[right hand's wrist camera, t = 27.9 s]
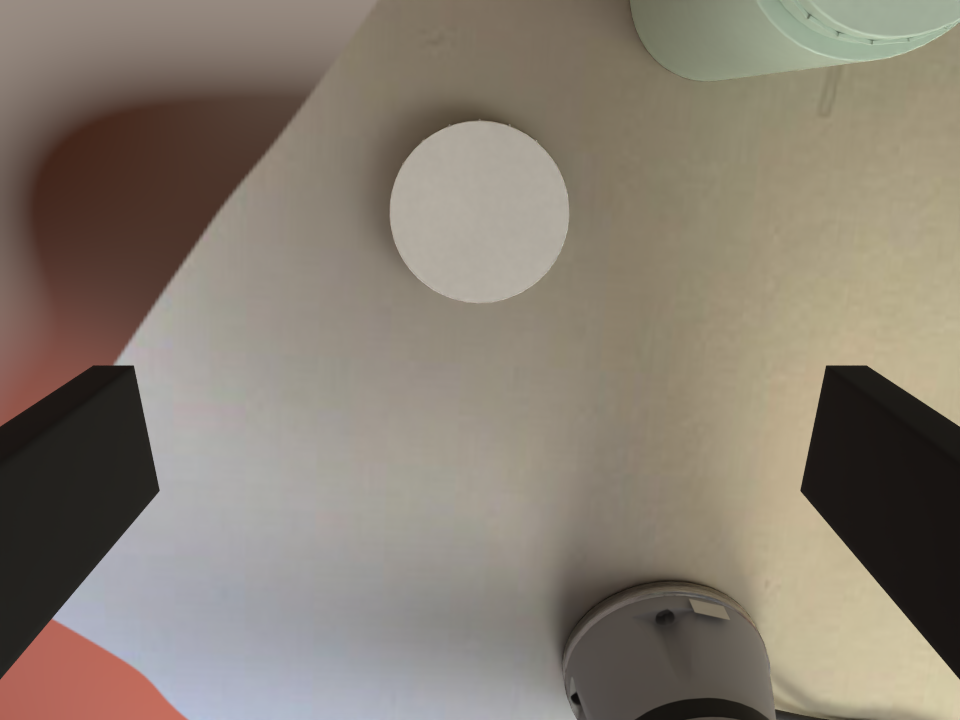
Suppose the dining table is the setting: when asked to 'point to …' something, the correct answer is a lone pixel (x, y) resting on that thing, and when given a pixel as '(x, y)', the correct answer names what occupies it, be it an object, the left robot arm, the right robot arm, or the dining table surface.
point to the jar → (783, 33)
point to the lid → (479, 211)
